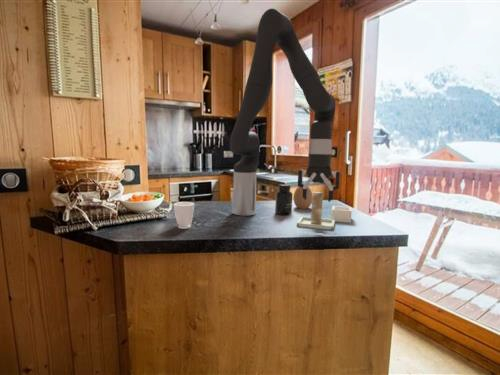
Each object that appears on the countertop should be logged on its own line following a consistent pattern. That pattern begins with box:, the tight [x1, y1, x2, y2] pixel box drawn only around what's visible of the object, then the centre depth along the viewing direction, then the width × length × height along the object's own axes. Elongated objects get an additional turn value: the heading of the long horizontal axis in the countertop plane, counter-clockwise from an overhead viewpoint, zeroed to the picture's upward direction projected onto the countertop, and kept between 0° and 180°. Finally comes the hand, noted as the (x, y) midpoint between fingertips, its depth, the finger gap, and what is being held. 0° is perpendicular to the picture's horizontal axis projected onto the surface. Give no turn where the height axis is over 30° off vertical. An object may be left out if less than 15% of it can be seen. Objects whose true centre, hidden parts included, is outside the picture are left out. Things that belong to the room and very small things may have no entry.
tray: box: [296, 216, 336, 231], centre depth 103 cm, size 12×10×2 cm
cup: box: [172, 201, 196, 230], centre depth 101 cm, size 7×10×8 cm
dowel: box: [310, 191, 324, 225], centre depth 102 cm, size 4×4×11 cm
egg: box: [292, 186, 313, 210], centre depth 129 cm, size 8×8×11 cm
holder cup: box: [330, 205, 353, 223], centre depth 111 cm, size 7×7×5 cm
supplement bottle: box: [274, 183, 293, 216], centre depth 121 cm, size 7×7×12 cm
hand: (317, 200), depth 102 cm, fingers open, 7 cm apart
